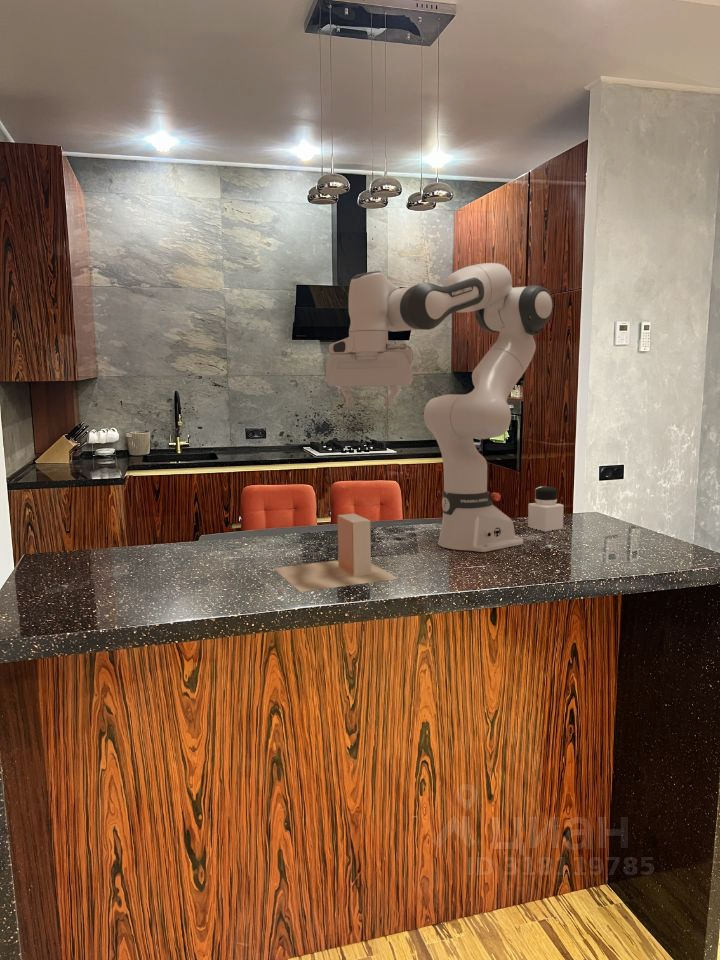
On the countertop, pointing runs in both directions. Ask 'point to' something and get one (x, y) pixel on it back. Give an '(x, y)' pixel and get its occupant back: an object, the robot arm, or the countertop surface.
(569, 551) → the countertop surface
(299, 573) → the cloth
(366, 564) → the block
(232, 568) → the countertop surface
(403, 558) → the countertop surface
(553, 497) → the medicine bottle
